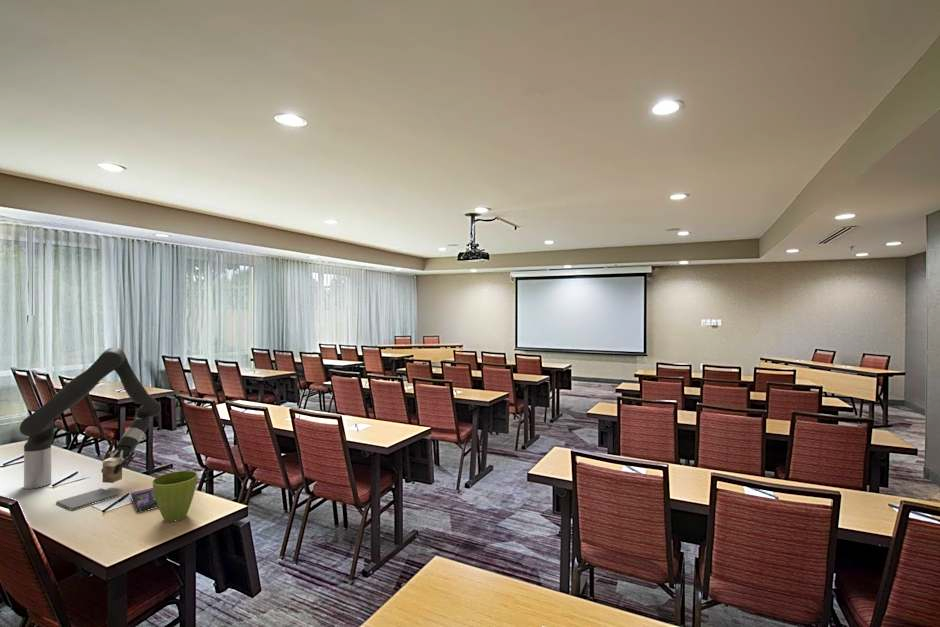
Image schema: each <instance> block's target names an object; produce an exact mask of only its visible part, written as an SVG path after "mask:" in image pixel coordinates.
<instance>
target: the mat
mask: <svg viewBox="0 0 940 627" xmlns="http://www.w3.org/2000/svg"><path fill="white" fill-rule="evenodd" d="M115 496H117V497H118V493H116V492H113V491H110V490H108V489H104V488H102V487H101V488H97V489H93V490H91V491H87V492H84V493H80V494H77V495H74V496H70V497H67V498H63V499H60V500H56V501H55V503H56V505H58V504H59V506H60V505H61V506H60V507H63V508H65V507H66V508H65V509H67V508H68V510H70V509H71V510H70V511H74V509H76V510H78V509H77V508H79V509H81V508H80V507H82V508H84V507H83V506H85V507H87V506H86V505H88V506H90V505H89V504H92V503H95V502H98V501H101V502H103V501H102V500H104V501H106V500H105V499H108V498H111V499H113V498H112V497H114V498H116V497H115ZM108 500H109V499H108ZM98 503H99V502H98ZM95 504H96V503H95ZM92 505H93V504H92Z"/></svg>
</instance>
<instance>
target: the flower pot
mask: <svg viewBox="0 0 940 627" xmlns="http://www.w3.org/2000/svg"><path fill="white" fill-rule="evenodd" d="M198 475H199V474H198V473H197V472H196V471H192V470H178V471H173V472H169V473H165V474H162V475H159V476H157V477H155V478H154V479H153V480H152V488H153V489H154V494H155V498H156V502H157V505H158V508H157V509H158V510H159V512H160V515H161V517H162V518H163V520H165V521H164V522H166V521H174V522H176V521H175V520H178V521H180V520H179V519H181V520H183V519H184V517H185V518H186V517H187V516H188V512H189V510H190V507H191V504H192V501H193V499H194V495H195V490H196V487H197V482H198V481H197V480H198ZM182 518H183V519H182Z"/></svg>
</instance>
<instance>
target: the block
mask: <svg viewBox="0 0 940 627" xmlns="http://www.w3.org/2000/svg"><path fill="white" fill-rule="evenodd" d="M102 461H103V462H102V468H103V473H102V483H105V484H106V483H107V484H109V483H111V484H113V483H116V482H118V481H120V480H122V479H123V467H122V468H121V470H120V471H119V473H117V474H114V473H113V471H114V469H115V468H116V466H117V465H119V461H120V458H119V457H113V458H108V459H106V460H103V459H102Z"/></svg>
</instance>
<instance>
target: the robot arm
mask: <svg viewBox="0 0 940 627" xmlns="http://www.w3.org/2000/svg"><path fill="white" fill-rule="evenodd" d="M113 371H114V372H115V373H116V374H117V375H118V377H119V379H120V381H121V384H122V386H123V388H124V390H125V392H126V394H127V396H128V397H129V398H130V400H131V401H132V402H133V403H135V404H138V405H140V407H138V409H137V411H136V413H135V415H134V418H133V421H132V423H131V424H130V425H129V427H128V428H127V430H126V431H125V432H124V433H123V435H122V436H121V438H120V440H119V441H118V442H117V443H116V447H115V448H114V450H112V451H110V450H107V451H106V452H105V455H104V456H103V459H102V463H103V460H106V459H108V458H113V457H119V458H120V461H119V465H117V466H116V468H115V469H114V471H113V473H114V474H117V473H119V471H120V470H121V468H122V469H123V467H125V466H129V465H130V464H131V463H132V461H133V460H135V458H136V457H137V455H138V454H137V453H136V452H135V449H136V448H137V447H138V445H139V444H140V442H141V440H142V438H143V436H144V435H145V433H146V431H147V429H148V428H149V426H150V422H149V421H148V420H149V419H150V418H152V417H157V416H159V415H160V414H161V411H162V406H161V404H160V402H159V401H157V400H156V399H155V398H154V397H153V396H152V395H150V394H149V393H148V390H146V388H145V387H144V385H143V384H142V383H141V382H140V380H139V378H138V376H137V375H136V373H135V372H134V370H133V369H132V366H131V365H130V362H129V360H128V358H127V356H126V354H125V351H124V350H123V349H122V348H121V349H120V348H119V347H109V348H107V349H105V351H103V352H102V353H101V354H100V355H99V357H98V358H97V359H96V360H95V362H93V363H92V365H90V367H88V368H87V369H86V370H85V371H84V372H81V373H80V374H78V375H77V376H75V377H74V378H73V379H71V380H69V382H68V383H67V384H65V385H64V386H63V387H62V388H60V390H58V391H57V392H56V393H55V394H54V395H52V397H50V399H49V400H47V402H46V403H45V404H43V406H41V407H40V408H39V409H37V410H36V411H34V412H33V413H31V414H30V415H28V416H27V417H25V419H24V418H23V420H22V421H21V423H20V425H19V432H20V433H21V435H23V436H25V437H28V439H27V441H26V442H25V444H24V445H23V489H25V490H33V489H38V488H39V487H40V488H43V486H44V487H46V485H47V486H49V485H51V484H50V483H52V443H53V441H54V434H55V420H54V419H56V418H57V417H58V416H60V415H61V414H62V413H64V412H65V411H67V410H69V409H70V408H72V407H73V406H75V405H77V404H78V403H79V402H80V401H82V400H83V399H84V398H85V397H86V396H87V395H88V394H89V393H90V392H91V391H92V390H93V389H95V388H96V386H97V385H98V384H99V382H100V381H101V380H103V379H104V378H105V377H106V376H108V375H109V374H110V373H112V372H113ZM101 473H102V474H103V467H102V468H101ZM48 484H49V485H48Z"/></svg>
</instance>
